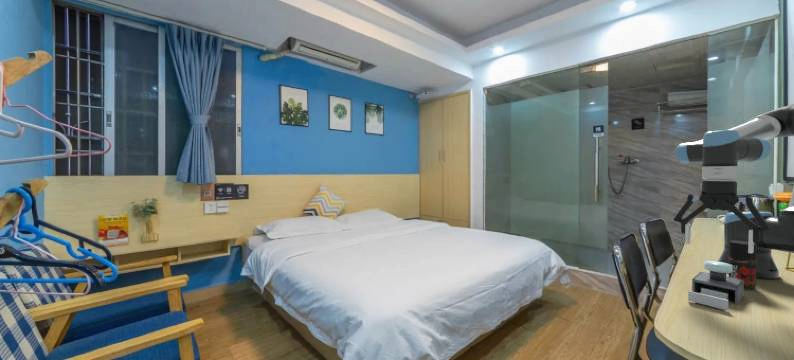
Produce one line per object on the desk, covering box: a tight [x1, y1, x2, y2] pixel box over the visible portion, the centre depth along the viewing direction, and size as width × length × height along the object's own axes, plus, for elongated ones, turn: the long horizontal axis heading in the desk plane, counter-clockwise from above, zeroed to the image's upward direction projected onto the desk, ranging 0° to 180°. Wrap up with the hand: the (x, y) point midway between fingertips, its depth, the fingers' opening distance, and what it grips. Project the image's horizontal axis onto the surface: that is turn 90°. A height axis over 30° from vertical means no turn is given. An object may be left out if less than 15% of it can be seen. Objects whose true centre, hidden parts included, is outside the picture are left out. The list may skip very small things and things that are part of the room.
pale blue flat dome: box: [703, 260, 732, 274], centre depth 94 cm, size 6×6×2 cm
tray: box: [687, 287, 730, 311], centre depth 89 cm, size 11×8×3 cm
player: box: [691, 270, 745, 305], centre depth 94 cm, size 11×10×8 cm
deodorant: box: [728, 240, 757, 292], centre depth 99 cm, size 6×6×15 cm
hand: (717, 247), depth 93 cm, fingers open, 13 cm apart
